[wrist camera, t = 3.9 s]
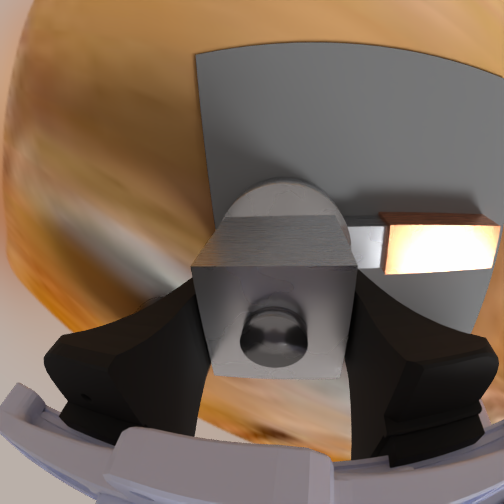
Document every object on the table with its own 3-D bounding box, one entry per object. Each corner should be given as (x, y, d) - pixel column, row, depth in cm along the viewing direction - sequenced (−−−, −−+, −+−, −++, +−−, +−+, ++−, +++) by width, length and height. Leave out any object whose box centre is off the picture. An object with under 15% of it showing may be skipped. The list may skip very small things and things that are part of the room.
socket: (329, 307, 13) (341, 390, 9) (235, 307, 14) (210, 387, 9) (335, 214, 11) (362, 276, 7) (225, 217, 12) (183, 276, 7)
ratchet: (468, 279, 16) (496, 313, 12) (232, 289, 18) (217, 331, 14) (485, 183, 13) (526, 202, 9) (217, 181, 15) (193, 200, 12)
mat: (469, 331, 18) (470, 333, 17) (235, 346, 21) (235, 349, 21) (504, 80, 9) (507, 80, 9) (197, 56, 13) (195, 54, 12)
